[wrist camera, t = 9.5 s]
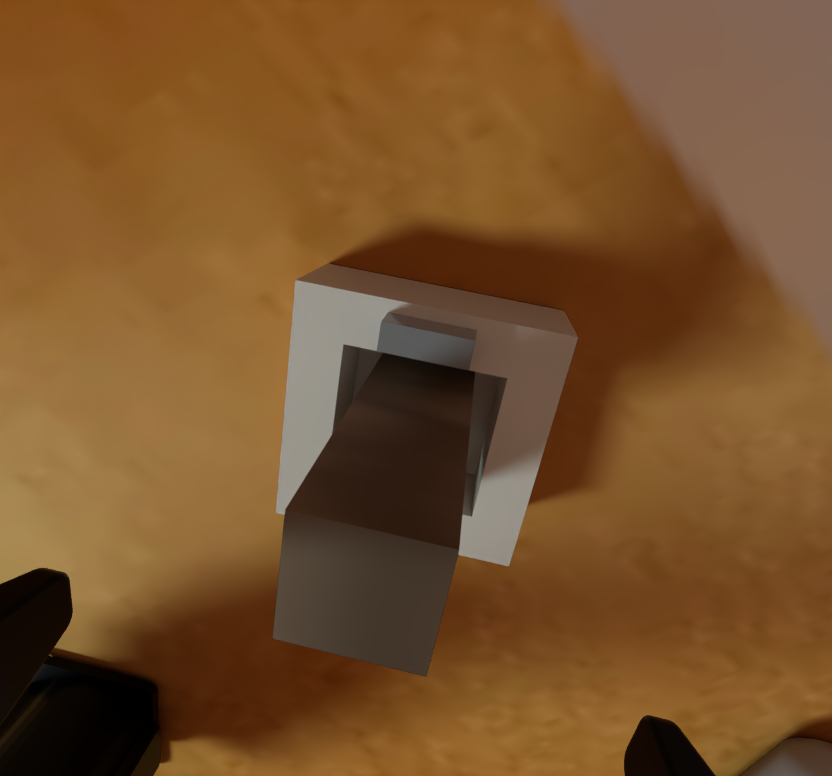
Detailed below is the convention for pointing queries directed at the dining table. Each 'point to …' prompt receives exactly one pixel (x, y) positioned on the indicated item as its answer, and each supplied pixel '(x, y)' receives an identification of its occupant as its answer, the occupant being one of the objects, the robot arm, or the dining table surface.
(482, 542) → the white square frame
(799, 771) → the tube
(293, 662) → the dining table surface
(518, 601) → the dining table surface
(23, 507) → the dining table surface
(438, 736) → the dining table surface
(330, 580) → the dark brown wooden beam
